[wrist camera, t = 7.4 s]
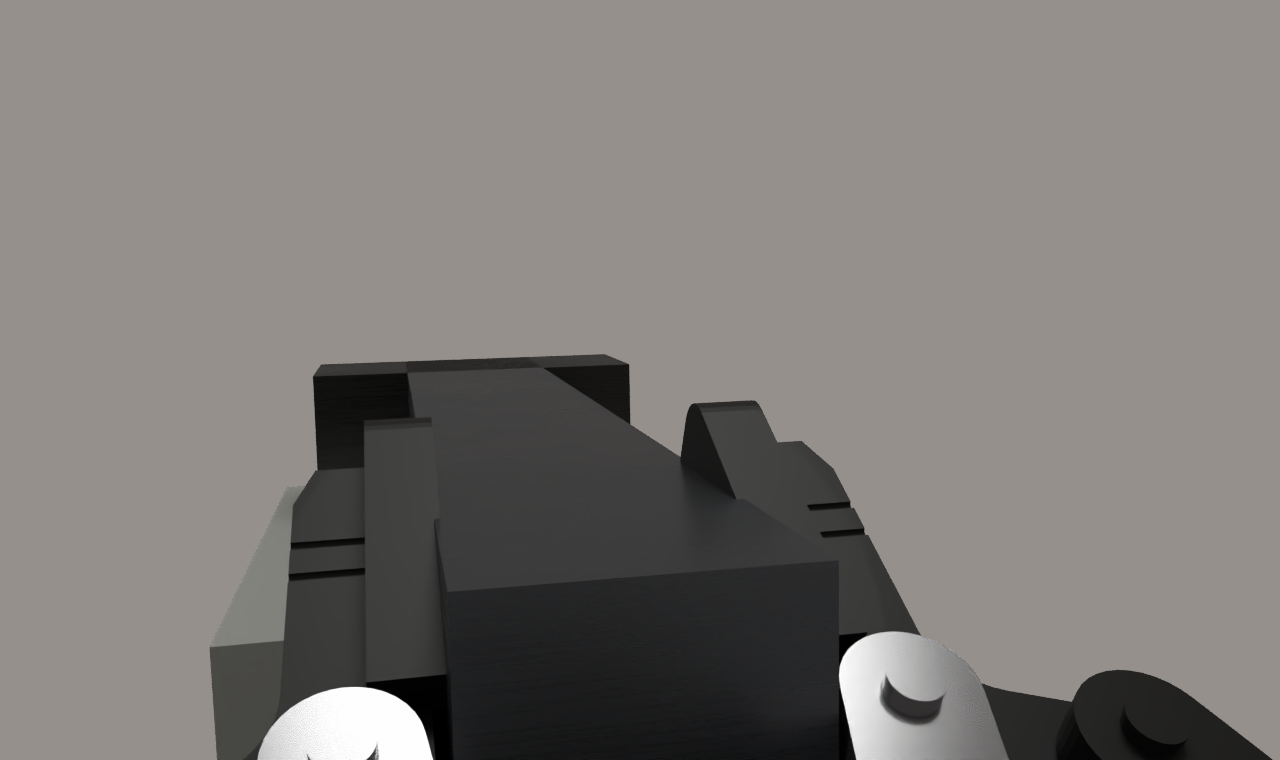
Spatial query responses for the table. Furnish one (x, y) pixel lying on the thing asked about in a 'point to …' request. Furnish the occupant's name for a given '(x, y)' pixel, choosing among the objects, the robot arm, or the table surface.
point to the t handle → (599, 573)
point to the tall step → (253, 643)
